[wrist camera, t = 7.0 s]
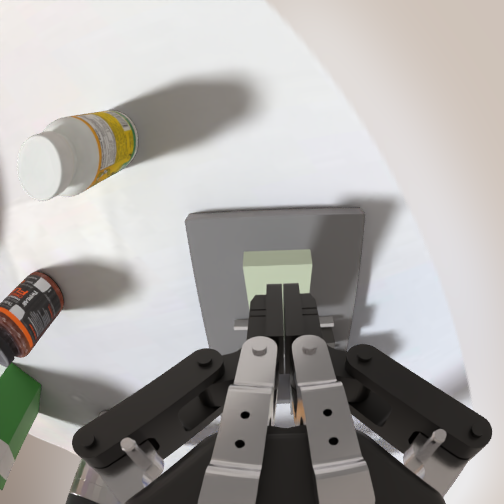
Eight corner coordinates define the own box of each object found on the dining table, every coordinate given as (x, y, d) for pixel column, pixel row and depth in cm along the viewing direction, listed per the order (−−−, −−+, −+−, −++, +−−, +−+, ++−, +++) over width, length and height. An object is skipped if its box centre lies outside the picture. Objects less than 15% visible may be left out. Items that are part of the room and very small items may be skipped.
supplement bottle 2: (139, 107, 20) (68, 115, 12) (141, 171, 23) (78, 212, 14) (84, 114, 21) (6, 130, 12) (88, 173, 23) (17, 212, 15)
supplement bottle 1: (44, 262, 28) (-16, 323, 18) (74, 303, 30) (24, 372, 20) (22, 278, 29) (-30, 335, 19) (49, 315, 32) (5, 376, 22)
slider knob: (328, 344, 28) (331, 363, 26) (300, 345, 28) (301, 365, 26) (330, 323, 27) (335, 342, 25) (301, 324, 27) (303, 344, 25)
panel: (333, 391, 34) (339, 426, 30) (224, 394, 36) (218, 429, 31) (359, 207, 23) (381, 235, 19) (189, 213, 25) (170, 243, 20)
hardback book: (38, 412, 48) (2, 490, 27) (13, 394, 46) (-27, 469, 25) (41, 384, 41) (-9, 483, 20) (11, 361, 39) (-45, 455, 18)
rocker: (302, 326, 24) (303, 338, 24) (254, 327, 25) (254, 340, 24) (310, 249, 18) (312, 264, 17) (243, 251, 18) (242, 266, 17)
